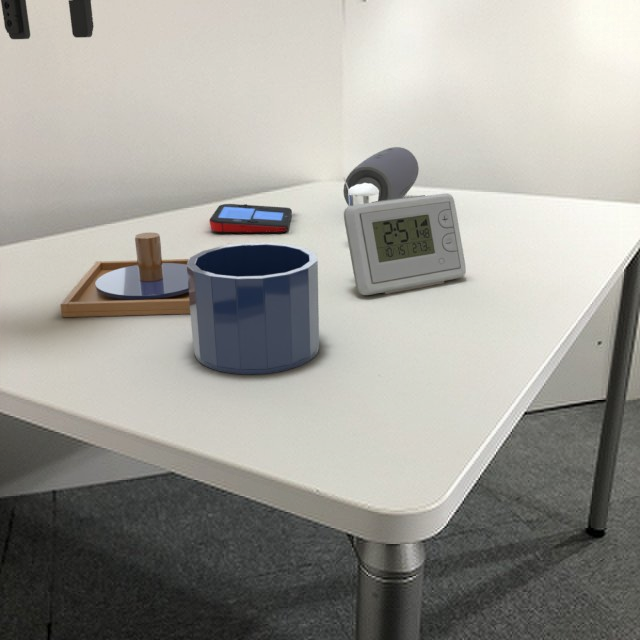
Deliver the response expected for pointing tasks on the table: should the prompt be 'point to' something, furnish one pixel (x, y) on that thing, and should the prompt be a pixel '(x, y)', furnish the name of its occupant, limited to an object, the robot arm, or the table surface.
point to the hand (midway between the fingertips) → (52, 38)
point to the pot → (254, 307)
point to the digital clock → (404, 243)
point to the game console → (250, 219)
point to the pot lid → (145, 274)
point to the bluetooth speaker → (386, 173)
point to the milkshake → (362, 193)
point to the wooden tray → (93, 303)
